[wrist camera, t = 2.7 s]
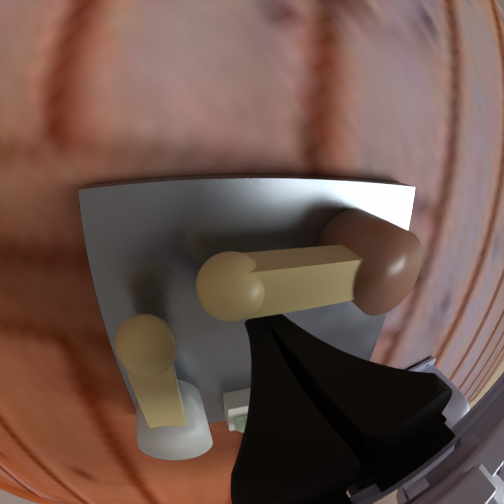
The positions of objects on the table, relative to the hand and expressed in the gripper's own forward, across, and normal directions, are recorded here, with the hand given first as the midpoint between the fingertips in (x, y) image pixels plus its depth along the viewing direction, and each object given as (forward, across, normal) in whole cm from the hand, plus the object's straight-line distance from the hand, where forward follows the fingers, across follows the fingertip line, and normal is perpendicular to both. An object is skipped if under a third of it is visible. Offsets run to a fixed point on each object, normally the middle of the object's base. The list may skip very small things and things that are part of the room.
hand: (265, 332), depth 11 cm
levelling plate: (+3, -1, +1) cm, 3 cm away
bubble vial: (+1, +1, +6) cm, 7 cm away
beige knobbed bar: (+1, -2, -2) cm, 4 cm away
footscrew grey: (+1, +5, +1) cm, 5 cm away
